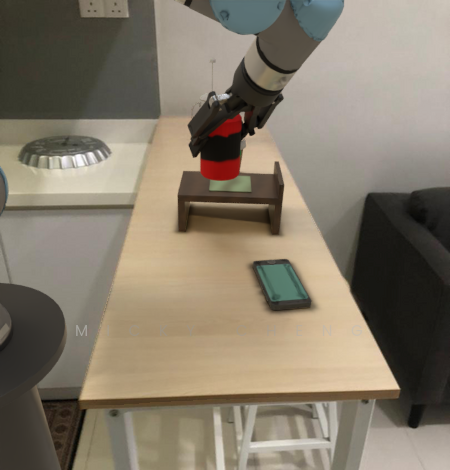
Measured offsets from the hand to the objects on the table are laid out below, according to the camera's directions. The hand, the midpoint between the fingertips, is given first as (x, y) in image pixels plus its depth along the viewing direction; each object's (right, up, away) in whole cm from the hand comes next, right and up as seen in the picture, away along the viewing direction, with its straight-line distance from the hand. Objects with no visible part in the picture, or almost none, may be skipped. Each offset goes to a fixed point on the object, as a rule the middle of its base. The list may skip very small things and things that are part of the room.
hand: (211, 147), depth 90 cm
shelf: (+4, -11, +17) cm, 21 cm away
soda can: (+2, -5, 0) cm, 6 cm away
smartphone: (+13, -27, -4) cm, 30 cm away
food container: (+2, +4, +38) cm, 39 cm away
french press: (-3, +23, +63) cm, 67 cm away
